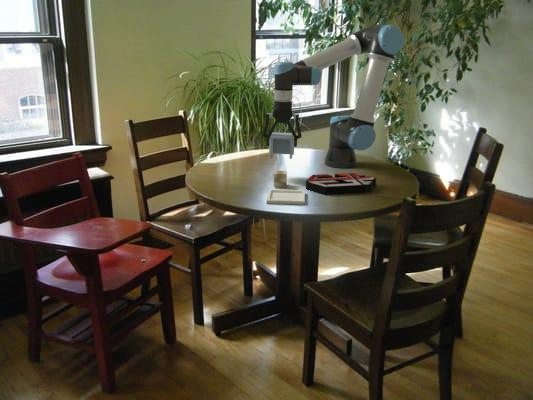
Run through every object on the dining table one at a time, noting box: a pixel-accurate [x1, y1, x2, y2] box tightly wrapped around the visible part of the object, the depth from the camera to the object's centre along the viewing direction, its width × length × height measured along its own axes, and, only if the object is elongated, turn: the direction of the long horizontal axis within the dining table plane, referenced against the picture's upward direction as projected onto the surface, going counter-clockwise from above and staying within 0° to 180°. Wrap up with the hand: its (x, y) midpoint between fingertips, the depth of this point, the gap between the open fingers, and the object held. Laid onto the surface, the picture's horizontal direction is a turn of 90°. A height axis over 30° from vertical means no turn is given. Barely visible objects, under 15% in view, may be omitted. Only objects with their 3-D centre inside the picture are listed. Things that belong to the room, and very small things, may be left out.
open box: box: [269, 131, 294, 160], centre depth 225 cm, size 9×9×9 cm
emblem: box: [305, 172, 377, 196], centre depth 218 cm, size 18×4×30 cm
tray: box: [266, 188, 306, 206], centre depth 203 cm, size 14×14×1 cm
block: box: [273, 170, 288, 189], centre depth 218 cm, size 5×5×6 cm
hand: (281, 153), depth 227 cm, fingers closed on open box, 9 cm apart
